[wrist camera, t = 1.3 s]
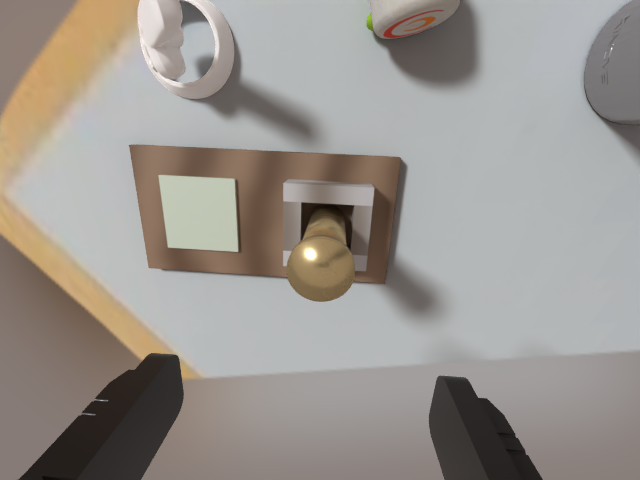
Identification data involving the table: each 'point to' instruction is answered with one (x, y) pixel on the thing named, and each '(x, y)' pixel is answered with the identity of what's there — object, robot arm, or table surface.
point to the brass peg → (322, 257)
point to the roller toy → (407, 16)
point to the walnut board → (273, 205)
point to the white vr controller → (167, 37)
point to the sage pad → (200, 212)
